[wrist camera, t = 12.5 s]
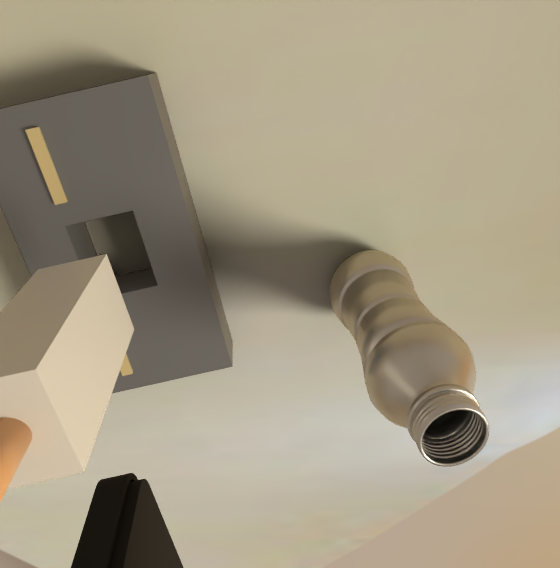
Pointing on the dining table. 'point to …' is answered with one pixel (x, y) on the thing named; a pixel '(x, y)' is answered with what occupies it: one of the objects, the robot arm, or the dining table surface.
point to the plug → (58, 369)
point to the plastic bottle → (410, 358)
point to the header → (110, 201)
